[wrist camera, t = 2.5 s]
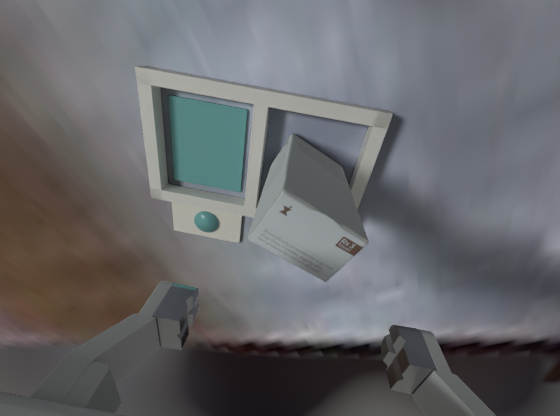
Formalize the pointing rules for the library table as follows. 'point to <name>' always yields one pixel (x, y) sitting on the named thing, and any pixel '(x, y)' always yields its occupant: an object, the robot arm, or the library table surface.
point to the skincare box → (308, 211)
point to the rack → (229, 145)
